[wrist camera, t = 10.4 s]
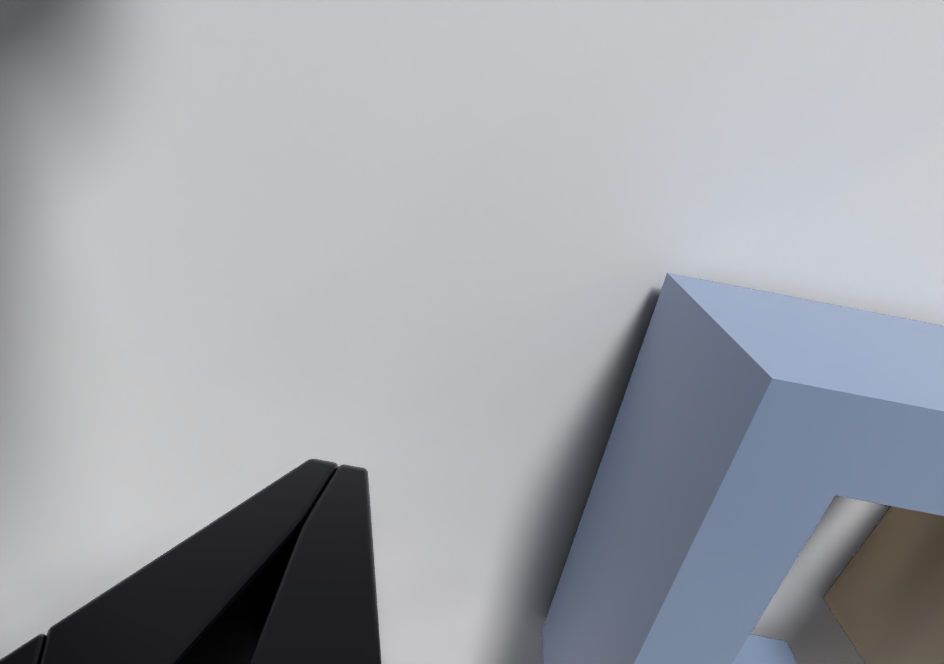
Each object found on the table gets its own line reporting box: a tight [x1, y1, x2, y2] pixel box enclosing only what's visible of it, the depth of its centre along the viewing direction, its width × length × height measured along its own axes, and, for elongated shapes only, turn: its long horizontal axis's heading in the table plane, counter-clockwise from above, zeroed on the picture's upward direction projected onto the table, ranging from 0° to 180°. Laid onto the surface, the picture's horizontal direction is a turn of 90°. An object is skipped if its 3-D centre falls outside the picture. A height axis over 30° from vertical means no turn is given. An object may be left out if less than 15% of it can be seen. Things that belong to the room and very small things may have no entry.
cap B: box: [542, 273, 944, 664], centre depth 7 cm, size 4×8×3 cm, turn 169°
